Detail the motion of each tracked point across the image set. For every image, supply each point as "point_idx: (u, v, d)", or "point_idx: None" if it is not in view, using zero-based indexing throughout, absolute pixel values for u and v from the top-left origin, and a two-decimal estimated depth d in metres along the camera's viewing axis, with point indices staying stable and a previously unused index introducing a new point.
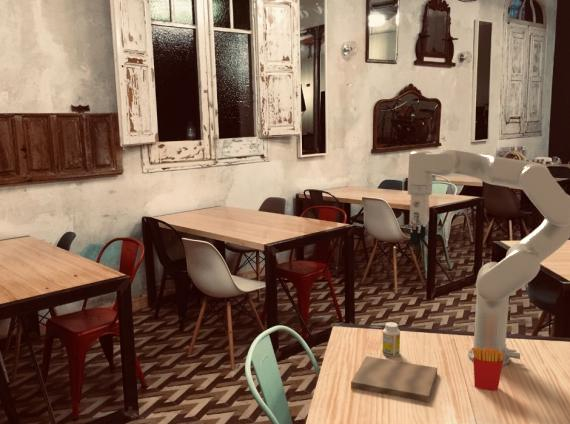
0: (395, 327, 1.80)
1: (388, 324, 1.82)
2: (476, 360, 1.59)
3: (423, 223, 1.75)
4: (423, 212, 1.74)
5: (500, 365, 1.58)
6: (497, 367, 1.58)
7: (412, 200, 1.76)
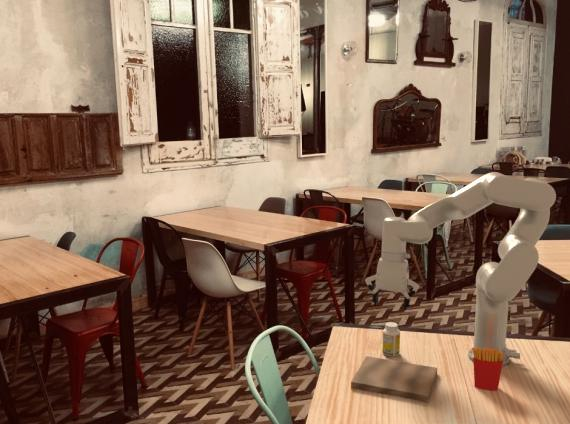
0: (395, 327, 1.80)
1: (388, 324, 1.82)
2: (476, 360, 1.59)
3: None
4: None
5: (500, 365, 1.58)
6: (497, 367, 1.58)
7: (405, 267, 1.75)
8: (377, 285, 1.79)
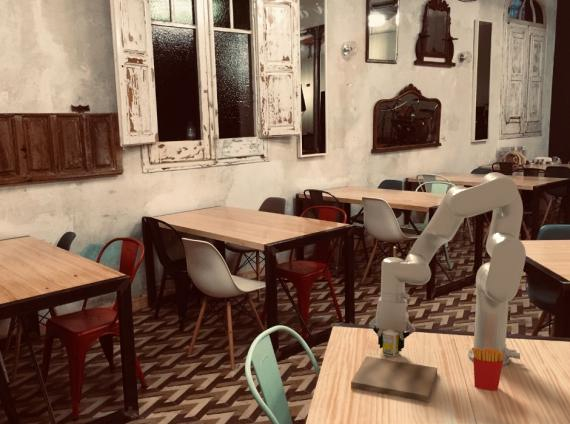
0: None
1: None
2: (476, 360, 1.59)
3: None
4: None
5: (500, 365, 1.58)
6: (497, 367, 1.58)
7: (405, 307, 1.77)
8: (377, 325, 1.81)
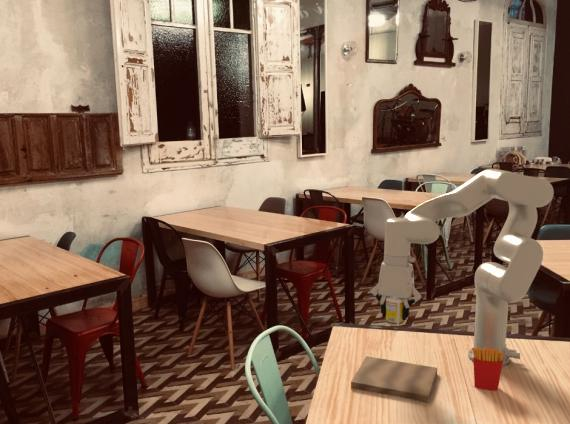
0: None
1: None
2: (476, 360, 1.59)
3: None
4: None
5: (500, 365, 1.58)
6: (497, 367, 1.58)
7: (410, 272, 1.62)
8: (380, 291, 1.67)
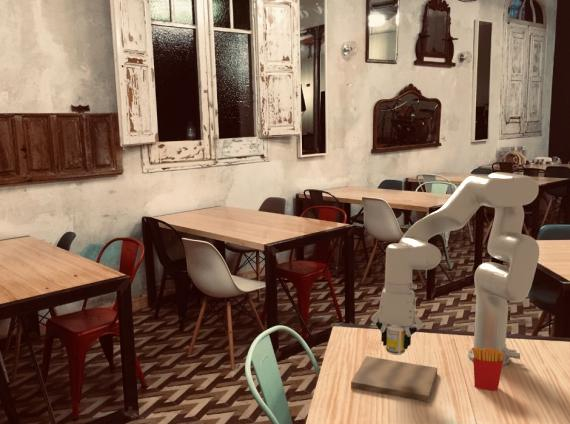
0: None
1: None
2: (476, 360, 1.59)
3: None
4: None
5: (500, 365, 1.58)
6: (497, 367, 1.58)
7: (412, 299, 1.57)
8: (381, 319, 1.61)
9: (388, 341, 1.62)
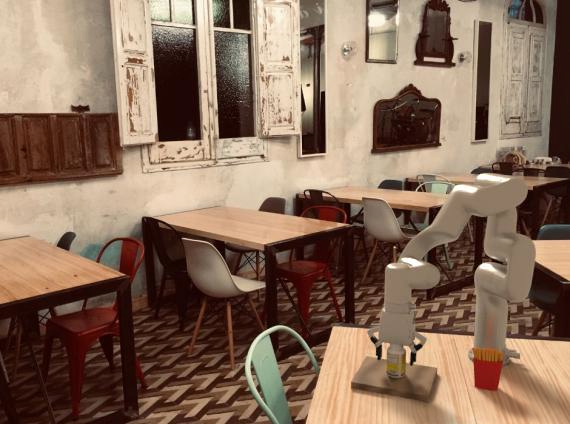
0: (401, 345, 1.62)
1: None
2: (476, 360, 1.59)
3: None
4: None
5: (500, 365, 1.58)
6: (497, 367, 1.58)
7: (411, 319, 1.59)
8: (380, 338, 1.62)
9: (388, 364, 1.63)
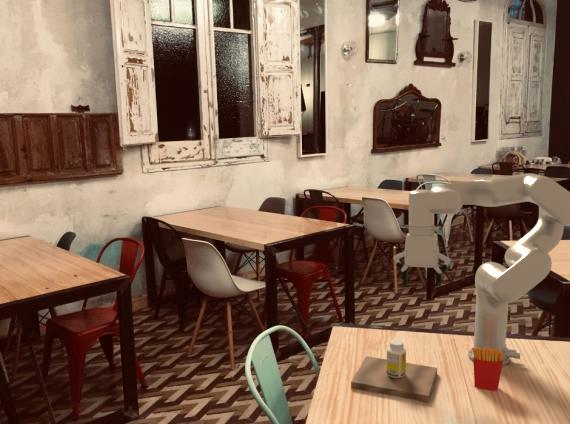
0: (401, 345, 1.62)
1: (393, 342, 1.63)
2: (476, 360, 1.59)
3: None
4: None
5: (500, 365, 1.58)
6: (497, 367, 1.58)
7: (435, 241, 1.68)
8: (406, 262, 1.72)
9: (388, 364, 1.63)
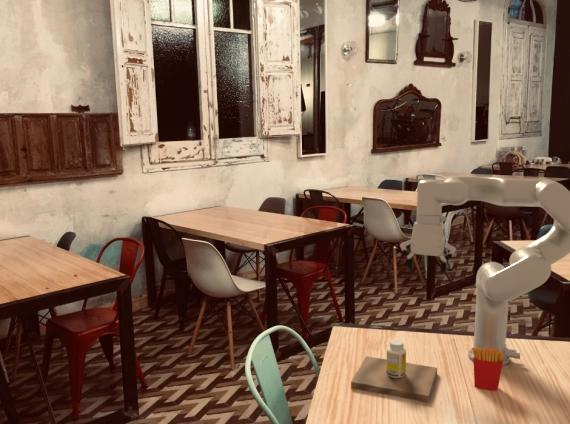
0: (401, 345, 1.62)
1: (393, 342, 1.63)
2: (476, 360, 1.59)
3: None
4: None
5: (500, 365, 1.58)
6: (497, 367, 1.58)
7: (442, 230, 1.72)
8: (412, 249, 1.76)
9: (388, 364, 1.63)
